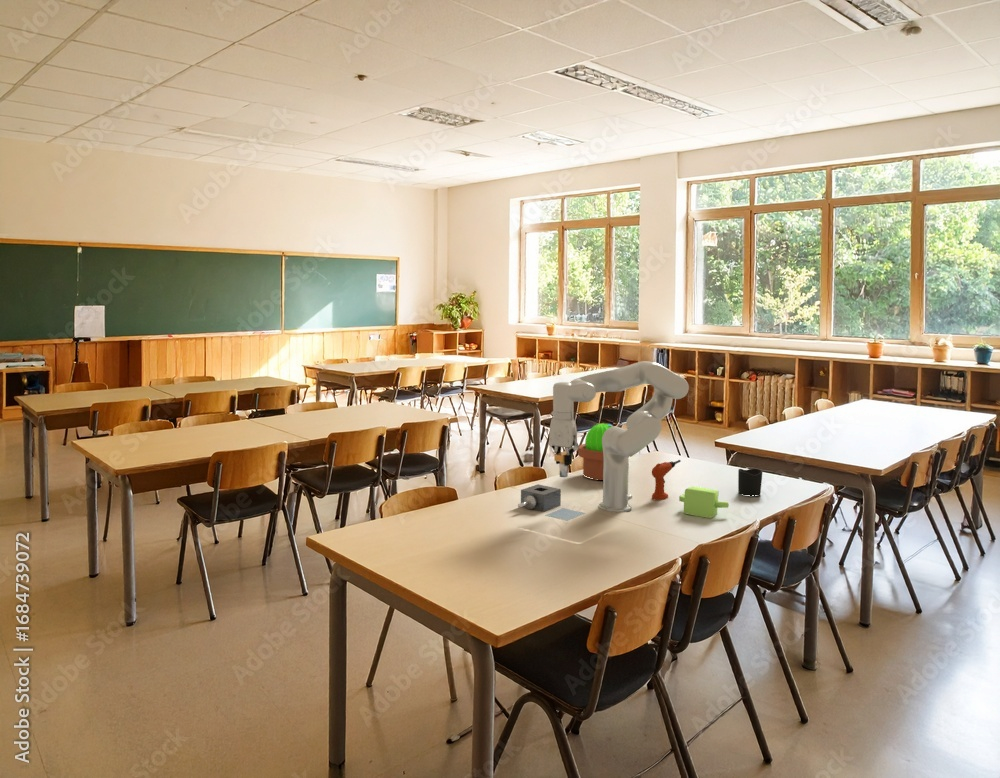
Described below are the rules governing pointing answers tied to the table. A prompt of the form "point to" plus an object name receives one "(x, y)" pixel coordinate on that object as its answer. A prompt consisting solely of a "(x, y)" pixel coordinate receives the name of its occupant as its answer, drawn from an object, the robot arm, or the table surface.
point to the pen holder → (749, 481)
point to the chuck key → (562, 463)
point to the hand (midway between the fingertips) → (563, 463)
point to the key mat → (565, 514)
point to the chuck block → (540, 497)
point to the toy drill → (661, 478)
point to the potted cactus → (593, 452)
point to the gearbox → (701, 502)
